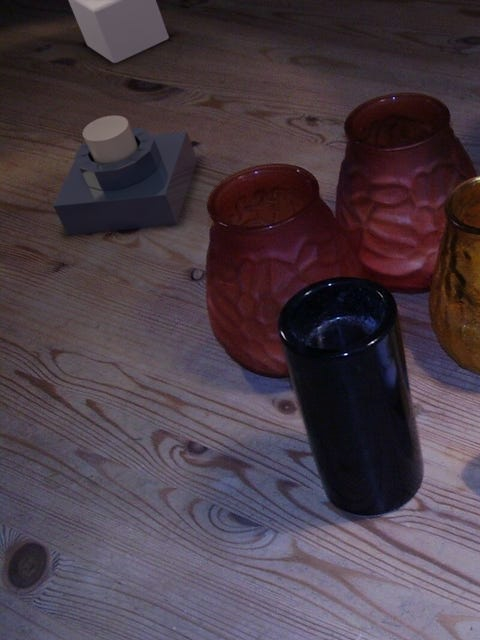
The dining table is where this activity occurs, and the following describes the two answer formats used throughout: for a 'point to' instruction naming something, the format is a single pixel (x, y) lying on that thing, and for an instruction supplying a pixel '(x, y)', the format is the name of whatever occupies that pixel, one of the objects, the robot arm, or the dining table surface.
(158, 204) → the button housing
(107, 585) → the dining table surface
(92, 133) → the beige cylinder
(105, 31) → the medicine bottle
